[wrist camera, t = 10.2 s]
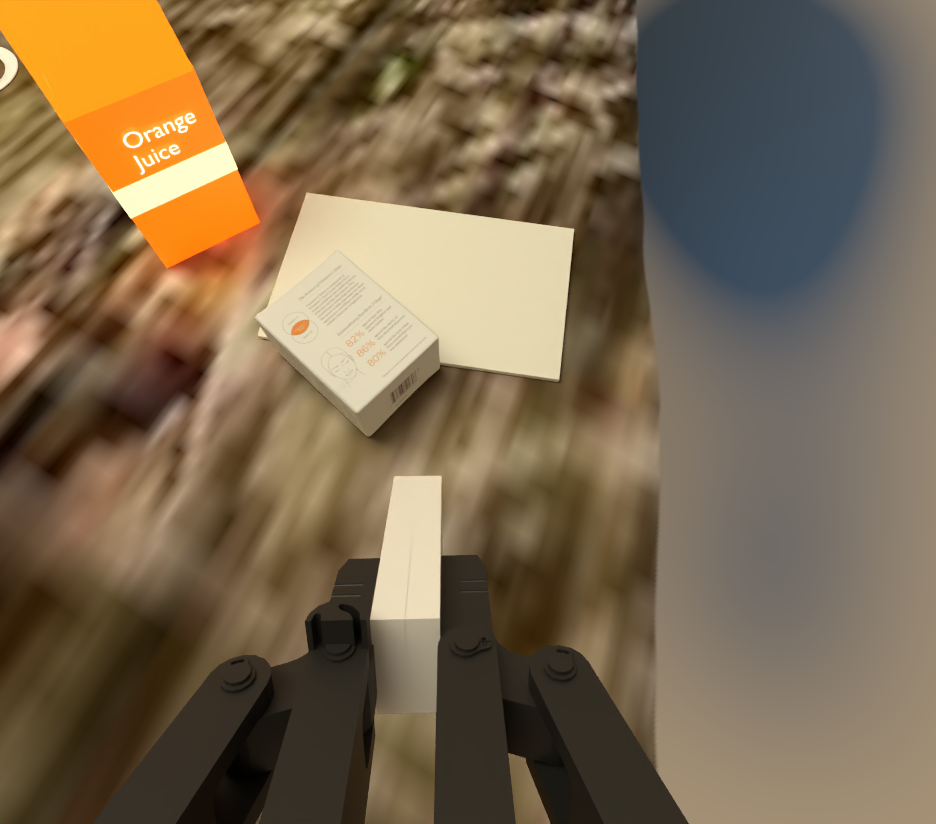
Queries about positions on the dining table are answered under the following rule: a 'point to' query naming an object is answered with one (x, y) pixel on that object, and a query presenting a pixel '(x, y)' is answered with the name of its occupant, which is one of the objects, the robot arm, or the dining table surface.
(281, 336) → the small box
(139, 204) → the orange juice
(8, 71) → the teacup and saucer
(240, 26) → the dining table surface
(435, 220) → the mat
